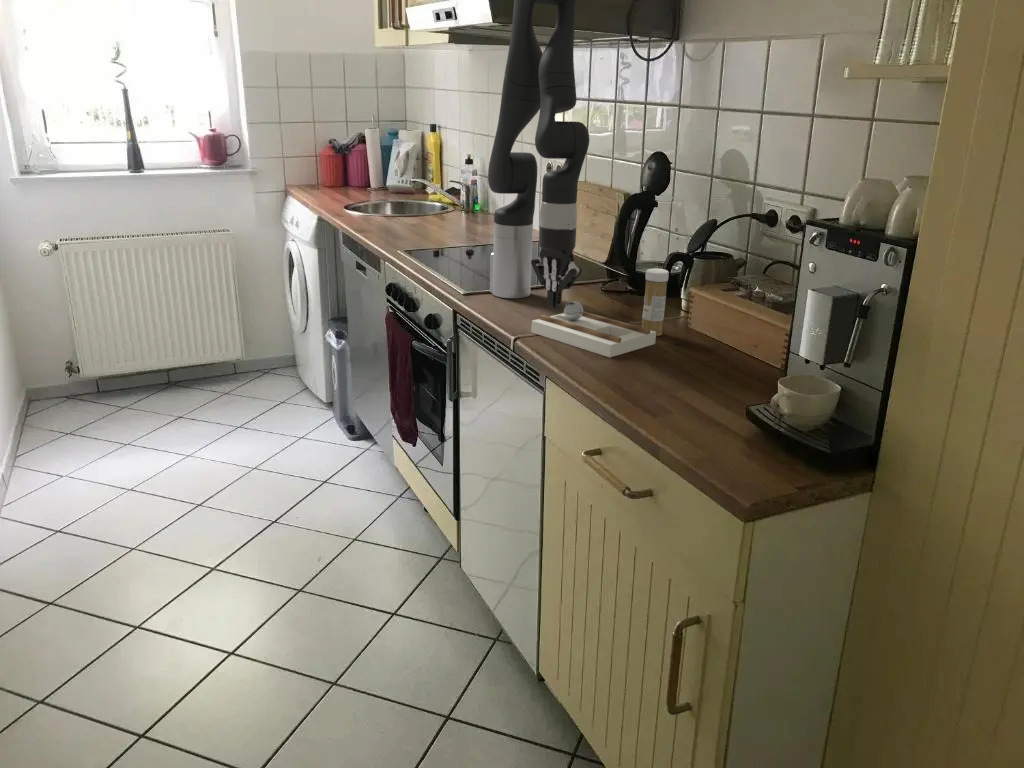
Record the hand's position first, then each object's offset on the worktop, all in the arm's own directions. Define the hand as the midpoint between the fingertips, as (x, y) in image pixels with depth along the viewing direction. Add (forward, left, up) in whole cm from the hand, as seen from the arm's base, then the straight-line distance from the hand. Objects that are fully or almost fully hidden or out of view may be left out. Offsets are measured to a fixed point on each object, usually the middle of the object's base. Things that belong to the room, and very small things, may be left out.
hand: (554, 307), depth 170 cm
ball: (+5, 0, 0) cm, 5 cm away
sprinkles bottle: (+17, +12, -4) cm, 21 cm away
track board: (+11, 0, -4) cm, 12 cm away
